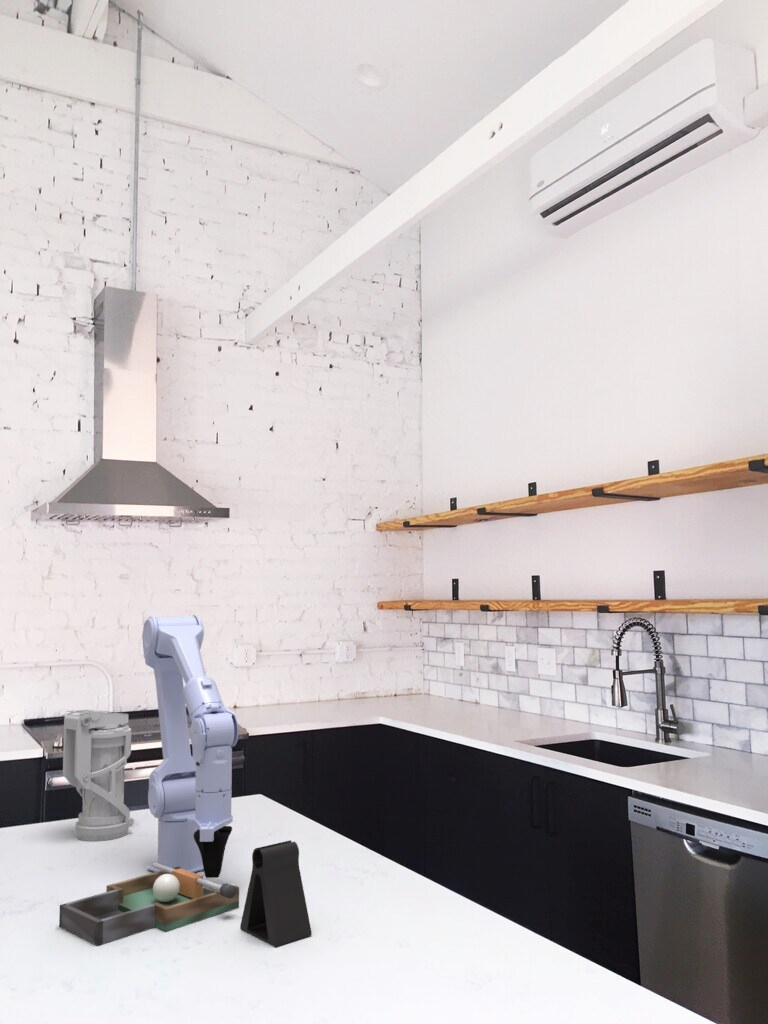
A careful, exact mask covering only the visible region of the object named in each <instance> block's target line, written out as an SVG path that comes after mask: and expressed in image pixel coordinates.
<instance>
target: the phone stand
mask: <svg viewBox="0 0 768 1024" xmlns="http://www.w3.org/2000/svg"><path fill="white" fill-rule="evenodd" d="M251 855H252V856H251V858H252V859H251V860H252V868H251V869H252V870H251V875H250V878H249V884H248V889H247V893H246V898H245V902H244V907H243V913H242V918H241V922H240V930H241V931H243V932H244V933H246V934H249V935H250V936H252V937H254V938H256V939H258V940H260V941H261V942H264V943H266V944H268V945H270V946H271V947H274V948H277V947H280V946H283V945H284V946H285V945H287V944H290V943H293V942H296V941H298V940H299V941H300V940H301V939H305V938H308V937H312V935H313V934H312V928H311V923H310V917H309V912H308V906H307V901H306V895H305V891H304V890H305V889H304V885H303V881H302V876H301V870H300V864H299V863H300V861H299V860H300V859H299V858H300V849H299V846H298V843H297V842H296V841H292V840H286V841H281V842H278V843H272V844H269V845H265V846H260V847H256V848H254V849H253V851H252V854H251Z"/></svg>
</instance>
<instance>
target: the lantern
mask: <svg viewBox="0 0 768 1024" xmlns="http://www.w3.org/2000/svg"><path fill="white" fill-rule="evenodd" d="M66 712H67V714H65V716H64V719H63V723H64V724H63V748H62V749H63V750H62V751H63V754H62V775H63V777H64V778H65V779H66V781H67V782H68V783H69V784H70V786H73V787H75V789H76V791H77V794H79V795H80V797H81V798H82V799H81V800H82V806H81V807H82V809H81V812H79V814H78V821H76V822H75V824H74V826H75V833H76V837H77V839H79V840H80V841H86V842H103V841H111V840H116V839H119V838H122V837H125V836H126V835H127V834H128V831H129V827H130V828H131V827H132V826H133V825H135V824H134V823H135V819H134V818H132V817H130V816H131V811H130V809H129V807H128V806H127V805H126V804H125V802H124V799H125V798H124V797H125V767H126V765H127V764H128V763H127V761H128V760H127V759H129V757H130V756H131V754H132V728H131V727H130V726H129V713H122V712H114V711H110V712H108V711H106V710H105V711H104V710H95V709H78V710H77V709H76V710H66Z"/></svg>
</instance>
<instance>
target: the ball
mask: <svg viewBox="0 0 768 1024" xmlns="http://www.w3.org/2000/svg"><path fill="white" fill-rule="evenodd" d="M179 890H180V884H179V881H178V879H177V878H176V877H175V876H174V875H172V874H164V875H161V876H160V877H158V878H157V879H156V881H155V883H154V885H153V894H154V896H155V898H156V899H157V900H158V901H160V902H170V901H172V900H173V899H175V898H176V896H177V895H178V893H179Z"/></svg>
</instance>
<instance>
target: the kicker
mask: <svg viewBox="0 0 768 1024" xmlns="http://www.w3.org/2000/svg"><path fill="white" fill-rule="evenodd" d="M152 865H153V868H156V869H159V870H162V871H164V872H167V873H170V874H172V875H174V876H175V877H176V878H177V879H178V881H179V884H180V890H179V893H180V894H183V895H185V896H188V897H191V898H193V899H195V898H198V897H201V896H203V888H204V887H206V888H210V889H213V890H215V891H220V894H221V895H222V896H224V897H227V898H233V897H234V896H235V894H236V887H235V886H236V885H233V884H230V883H227V882H225V883H223V884H219V883H215V882H212V881H210V880H207V879H205V878H204V876H203V875H201V874H198V873H197V872H194V873H193V872H190V871H187V870H184V869H181V868H180V869H176V870H175V869H173V868H170V867H167V866H164V865H161V864H158V862H153V864H152Z"/></svg>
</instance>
